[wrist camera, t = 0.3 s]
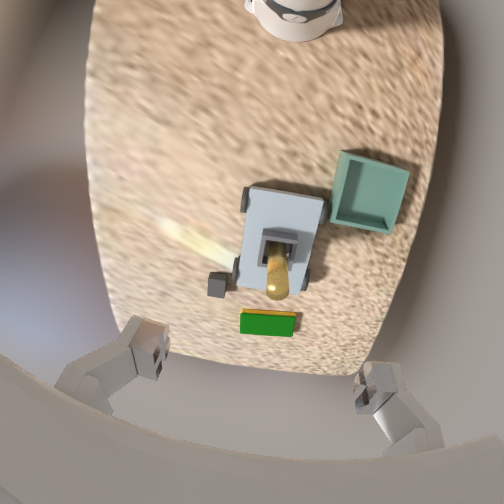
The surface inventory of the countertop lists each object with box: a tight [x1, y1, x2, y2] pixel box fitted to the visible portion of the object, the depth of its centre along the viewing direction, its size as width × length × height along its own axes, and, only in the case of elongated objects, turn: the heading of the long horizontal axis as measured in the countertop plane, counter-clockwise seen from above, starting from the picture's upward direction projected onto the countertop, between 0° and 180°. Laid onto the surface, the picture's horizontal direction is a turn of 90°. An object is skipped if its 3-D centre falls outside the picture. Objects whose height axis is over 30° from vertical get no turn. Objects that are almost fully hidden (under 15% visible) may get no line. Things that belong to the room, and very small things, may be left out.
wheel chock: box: [207, 272, 227, 298], centre depth 66 cm, size 5×4×3 cm
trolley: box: [232, 186, 328, 295], centre depth 57 cm, size 22×16×8 cm
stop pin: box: [266, 241, 289, 300], centre depth 50 cm, size 4×4×15 cm
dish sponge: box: [240, 309, 296, 337], centre depth 71 cm, size 7×14×2 cm, turn 87°
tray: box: [327, 151, 410, 235], centre depth 51 cm, size 14×14×5 cm
